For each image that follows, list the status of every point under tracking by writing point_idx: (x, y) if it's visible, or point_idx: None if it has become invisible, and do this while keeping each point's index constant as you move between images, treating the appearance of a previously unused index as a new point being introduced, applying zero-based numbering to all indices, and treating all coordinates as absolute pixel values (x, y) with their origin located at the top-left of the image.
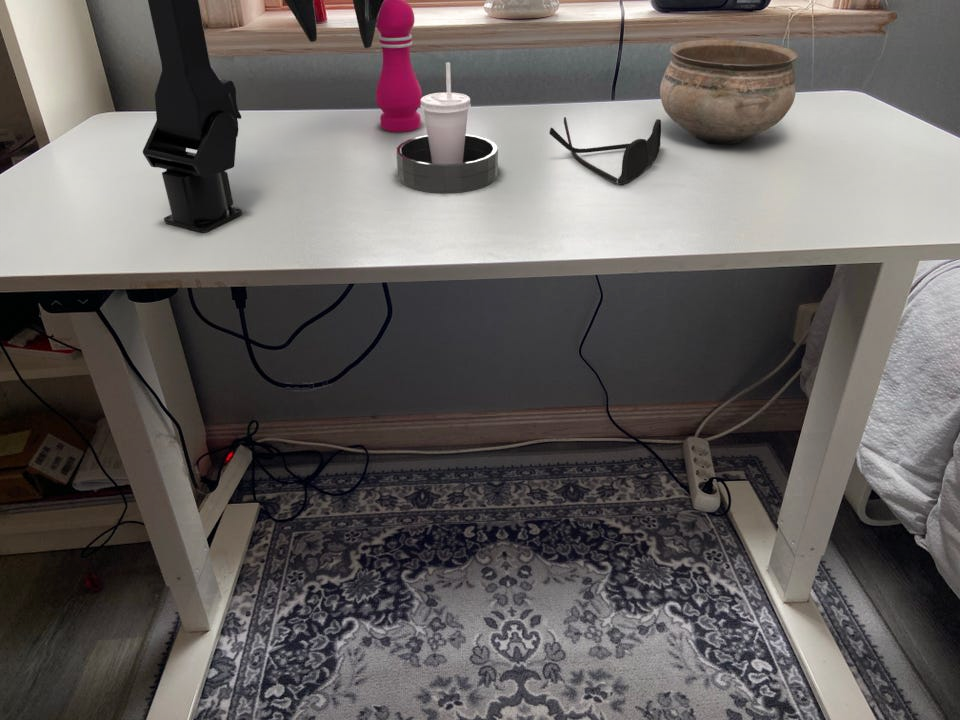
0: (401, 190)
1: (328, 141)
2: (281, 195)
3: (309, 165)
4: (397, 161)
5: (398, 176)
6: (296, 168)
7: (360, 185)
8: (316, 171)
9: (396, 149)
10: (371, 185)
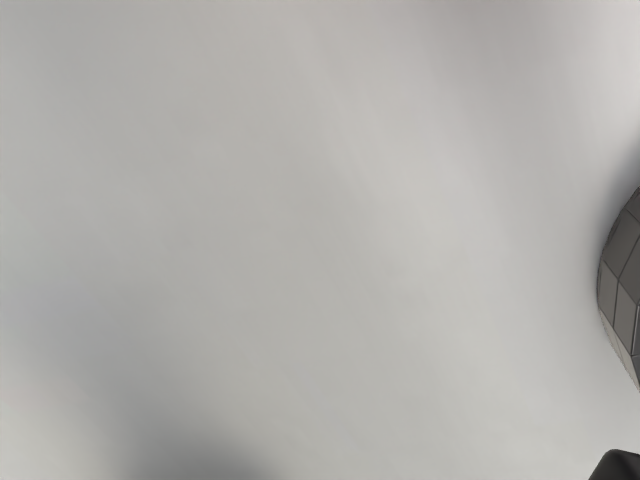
0: (632, 401)
1: (178, 9)
2: (317, 475)
3: (265, 280)
4: (633, 381)
5: (613, 348)
6: (241, 312)
7: (496, 390)
8: (315, 321)
9: (633, 363)
10: (530, 385)
